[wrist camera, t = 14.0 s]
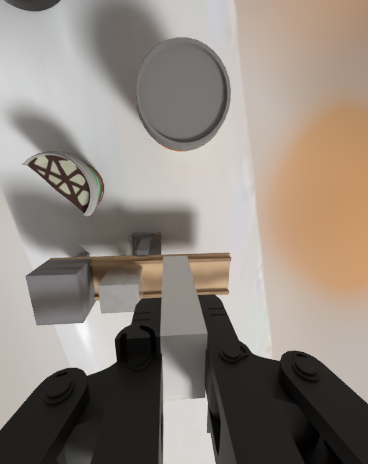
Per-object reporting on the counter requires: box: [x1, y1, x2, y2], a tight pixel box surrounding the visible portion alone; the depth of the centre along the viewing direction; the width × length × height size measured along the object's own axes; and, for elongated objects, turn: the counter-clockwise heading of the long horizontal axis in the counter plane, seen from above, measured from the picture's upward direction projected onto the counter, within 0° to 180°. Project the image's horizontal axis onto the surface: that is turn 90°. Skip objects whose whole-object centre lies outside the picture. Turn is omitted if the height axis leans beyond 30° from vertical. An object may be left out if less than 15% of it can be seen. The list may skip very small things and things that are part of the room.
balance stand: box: [77, 232, 161, 257], centre depth 42 cm, size 12×18×10 cm, turn 90°
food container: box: [22, 151, 104, 216], centre depth 36 cm, size 12×6×10 cm, turn 45°
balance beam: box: [26, 253, 231, 325], centre depth 35 cm, size 9×32×8 cm, turn 90°
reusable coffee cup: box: [136, 38, 231, 151], centre depth 33 cm, size 12×13×15 cm
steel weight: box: [98, 267, 144, 313], centre depth 34 cm, size 5×6×6 cm
